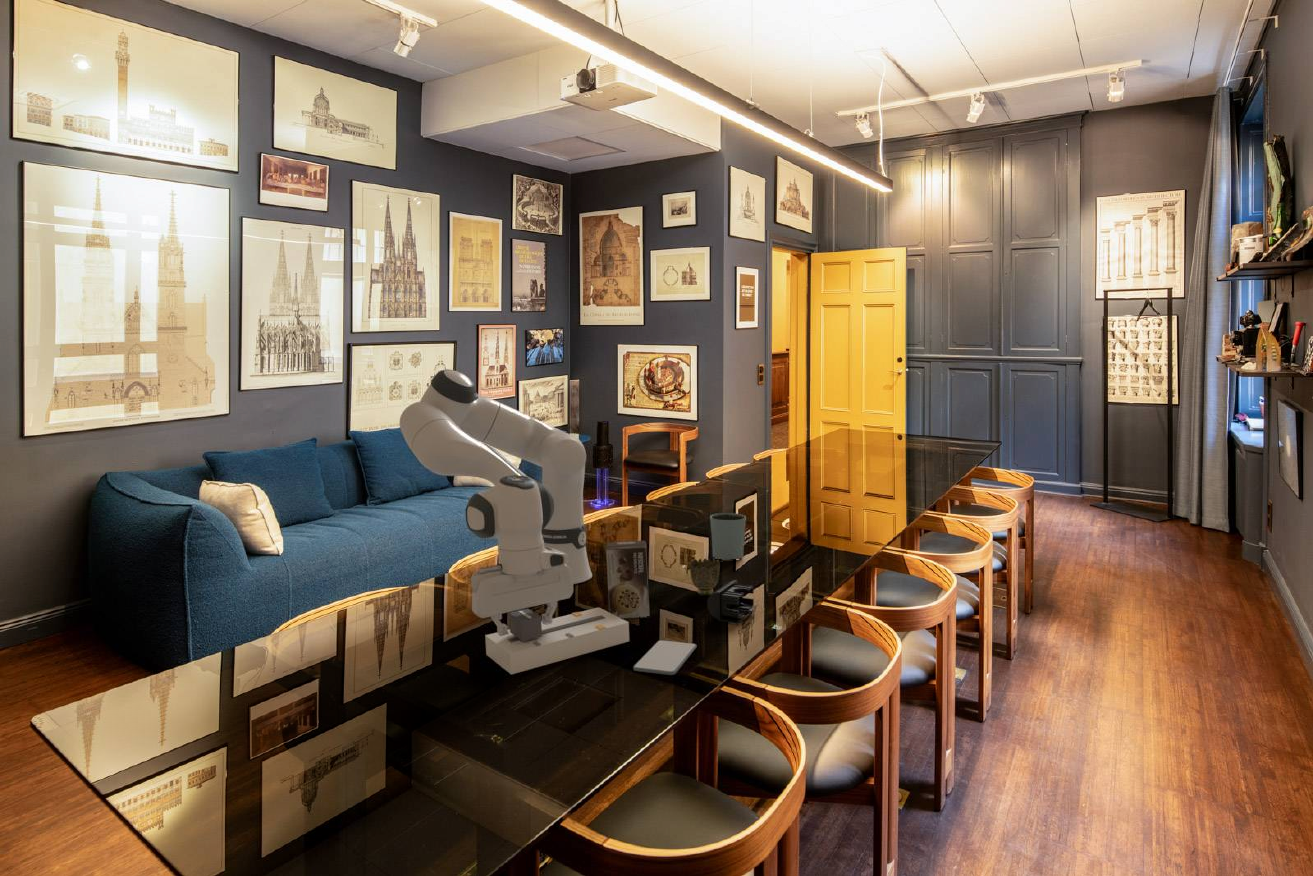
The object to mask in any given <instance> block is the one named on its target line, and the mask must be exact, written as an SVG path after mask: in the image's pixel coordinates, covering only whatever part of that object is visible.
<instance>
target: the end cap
mask: <svg viewBox="0 0 1313 876" xmlns="http://www.w3.org/2000/svg"><path fill="white" fill-rule="evenodd" d="M738 583H739V581H738V579H737V580H736V579H735V580H731V581H729V582H727V583H726V584H725V585H723V586H722V587H720V588H719V589H717V590H716V591H713V593H712V594H711V595H709V597H708V599H707V609H708V612H709V613H710V614H711V615H712V616H713V617H714V618H715V619H716V620H717V621H719V622H721V621H722V622H721V623H726V622H728V623H727V624H732V623H739V624H741V623H742V622H743V621H744V620H745V619H746V618H745V617H746V616H747V615H748V614H750V613H751V612H752V611H753V612H754V609H753V608H754V605H755V603H754V602H755V599H754V598H751V597H744V593H745V594H753V595H754V592H755V591H754V586H753V585H748V584H740V583H739V584H738ZM751 614H752V613H751ZM751 614H750V615H751ZM744 618H745V619H744ZM743 619H744V620H743ZM742 620H743V621H742ZM741 621H742V622H741ZM740 622H741V623H740Z"/></svg>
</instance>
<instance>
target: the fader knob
mask: <svg viewBox="0 0 1313 876" xmlns="http://www.w3.org/2000/svg"><path fill="white" fill-rule="evenodd" d="M508 617H509V618H508V619H509V629H510V633H512V634H513V635H515V636H516V637H517V638H519V639H520V640H522V641H526V640H530V639H534V638H538V637H542V626H541V621H542V615H539V614H537V612H534V610H531V609H529V608H524V609H520V610H516V611H511V612H508Z"/></svg>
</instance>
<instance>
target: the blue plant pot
mask: <svg viewBox="0 0 1313 876" xmlns="http://www.w3.org/2000/svg"><path fill="white" fill-rule="evenodd" d="M709 520H710V521H709V522H710V531H711V533H710V534H711V542H712V543H711V547H712V549H711V550H712V558H713V557H714V558H715V559H722V560H730V559H740V558H742V557H743V558H744V548H745V534H746V533H745V532H746V524H747V523H746V521H747V517H746V515H744V514H740V513H734V512H722V513H721V512H720V513H714V514H711V515H710V516H709ZM714 558H713V559H714ZM743 558H742V559H743Z"/></svg>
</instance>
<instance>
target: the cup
mask: <svg viewBox="0 0 1313 876" xmlns="http://www.w3.org/2000/svg"><path fill="white" fill-rule="evenodd" d="M689 562H690V563H689V570H690V577H691V583H692V584H693V586H694V587H695V588H697V593H698V595H699V596H703V595H708V596H711V595H712V594H713V593H714V589H713V588H715V587H716V586H717V584H718V582H719V579H720V577H719V576H720V569H721V568H720V567H721V561H719V560H715V559H714V558H713V559H710V558H708V559H707V558H703V560H702V558H699V559H698V560H697V559H696V558H694V559H693V560H689Z"/></svg>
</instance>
